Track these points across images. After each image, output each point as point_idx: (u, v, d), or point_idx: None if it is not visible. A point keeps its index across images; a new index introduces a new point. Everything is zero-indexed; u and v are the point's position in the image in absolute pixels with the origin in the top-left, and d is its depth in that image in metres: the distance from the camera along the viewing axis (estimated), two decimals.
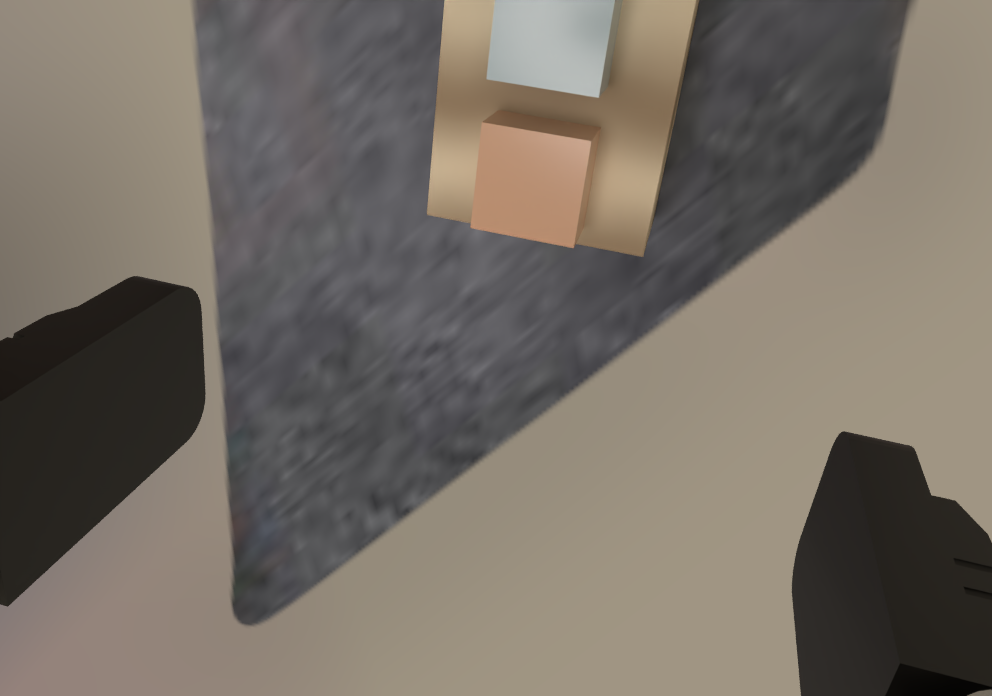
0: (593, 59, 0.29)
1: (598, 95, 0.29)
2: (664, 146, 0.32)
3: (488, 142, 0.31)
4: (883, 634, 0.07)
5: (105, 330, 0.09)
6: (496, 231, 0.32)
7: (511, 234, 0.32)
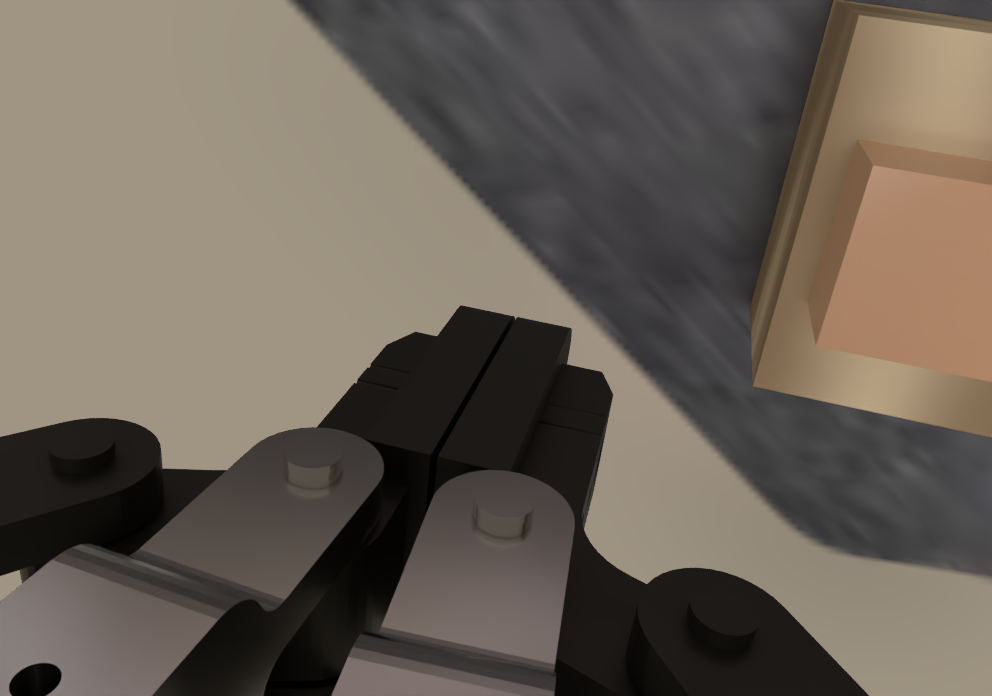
0: None
1: None
2: (933, 423, 0.21)
3: None
4: (449, 445, 0.08)
5: (477, 362, 0.10)
6: (860, 215, 0.17)
7: (851, 242, 0.18)
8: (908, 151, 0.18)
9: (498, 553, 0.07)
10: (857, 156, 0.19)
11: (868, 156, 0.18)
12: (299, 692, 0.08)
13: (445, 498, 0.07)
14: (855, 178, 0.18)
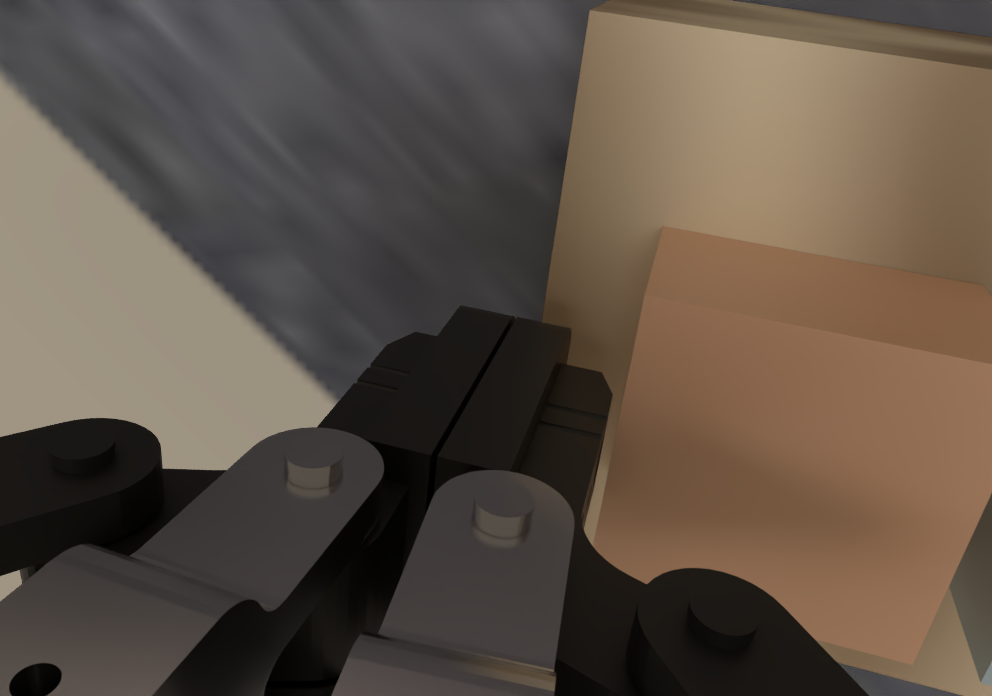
0: None
1: (986, 680, 0.10)
2: None
3: (962, 388, 0.09)
4: (449, 444, 0.08)
5: (477, 362, 0.10)
6: (633, 378, 0.10)
7: (623, 422, 0.10)
8: (740, 251, 0.11)
9: (498, 552, 0.07)
10: None
11: (653, 269, 0.10)
12: (299, 692, 0.08)
13: (444, 498, 0.07)
14: None
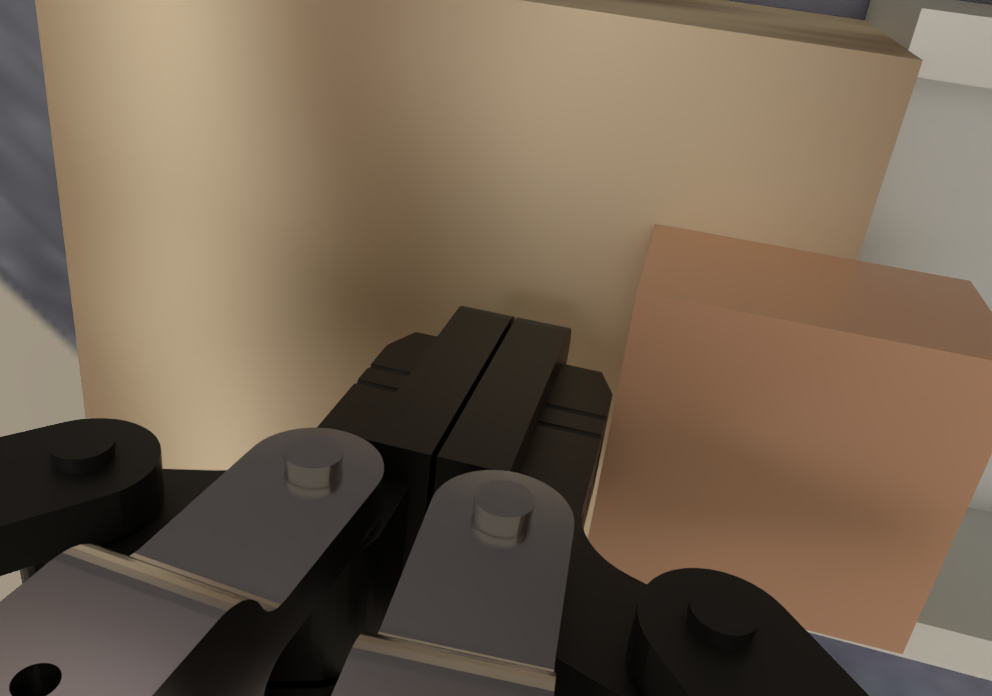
0: None
1: None
2: None
3: (948, 381, 0.09)
4: (450, 445, 0.08)
5: (478, 362, 0.10)
6: (626, 373, 0.10)
7: (617, 417, 0.10)
8: (731, 248, 0.11)
9: (498, 552, 0.07)
10: None
11: (645, 266, 0.10)
12: (299, 691, 0.08)
13: (444, 499, 0.07)
14: None
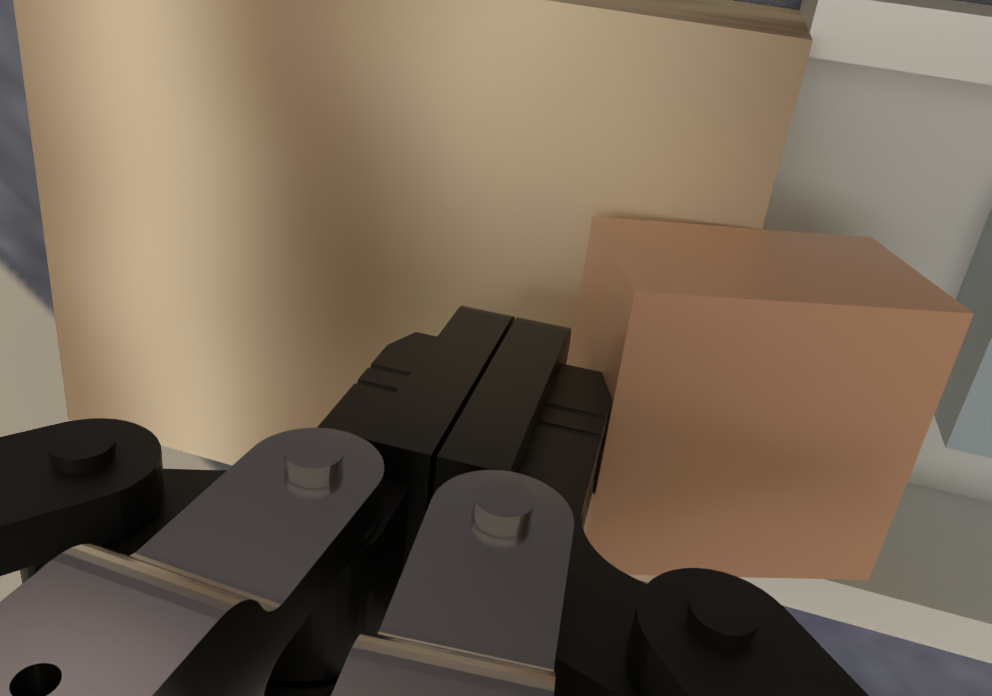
0: None
1: None
2: None
3: (909, 335, 0.10)
4: (450, 445, 0.08)
5: (478, 362, 0.10)
6: (623, 373, 0.10)
7: (615, 417, 0.10)
8: (673, 232, 0.11)
9: (498, 552, 0.07)
10: (597, 250, 0.11)
11: (620, 264, 0.10)
12: (299, 692, 0.08)
13: (444, 498, 0.07)
14: (601, 292, 0.11)
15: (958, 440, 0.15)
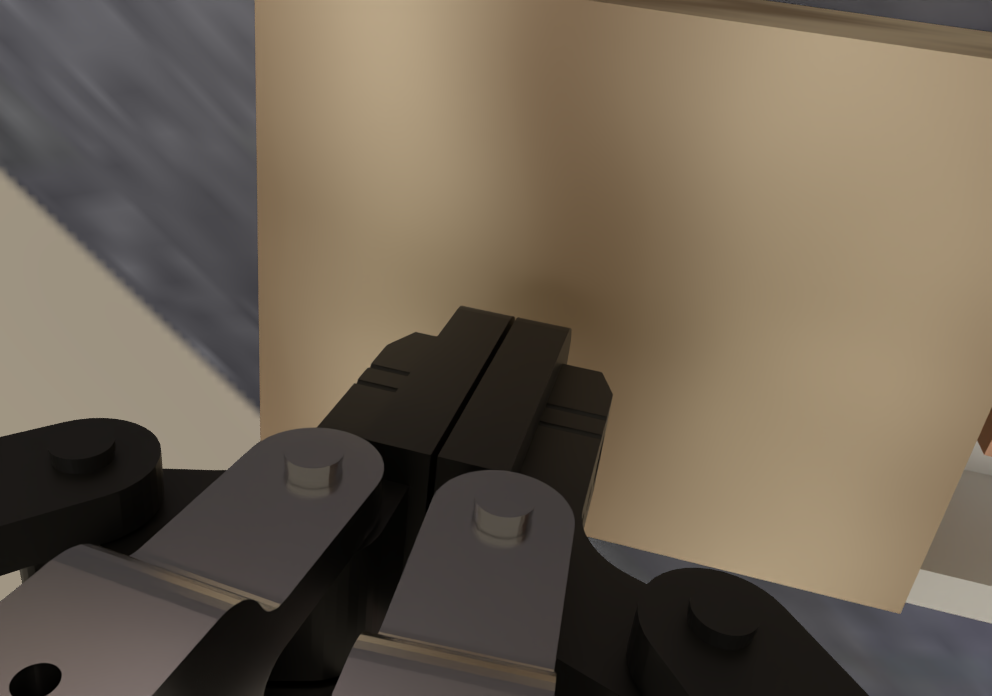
0: None
1: None
2: None
3: None
4: (450, 445, 0.08)
5: (477, 362, 0.10)
6: None
7: None
8: None
9: (498, 553, 0.07)
10: None
11: None
12: (299, 692, 0.08)
13: (445, 498, 0.07)
14: None
15: None
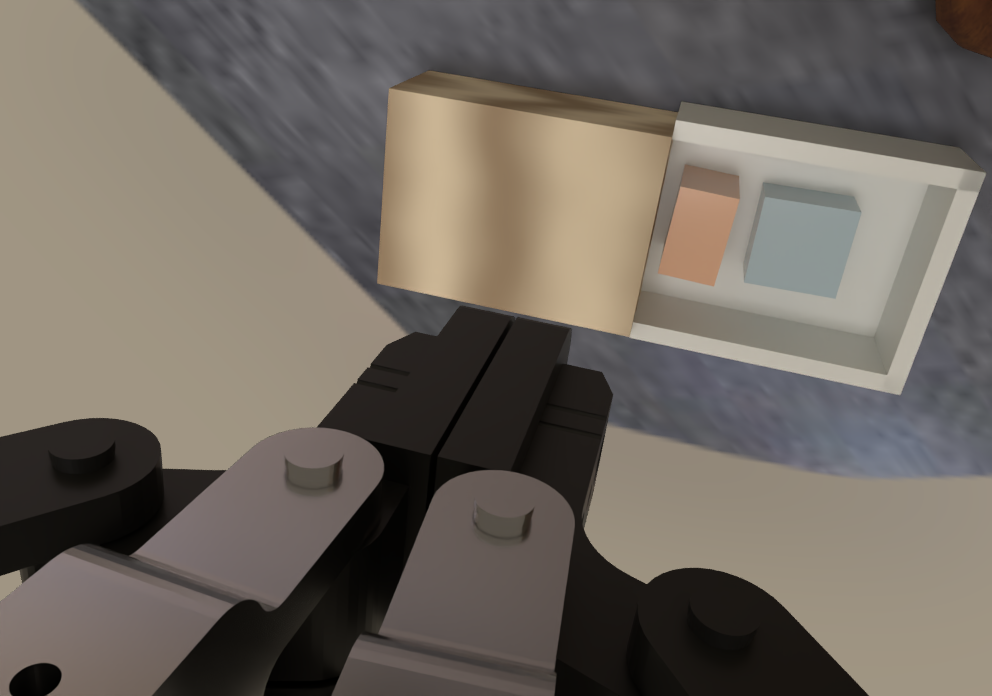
0: None
1: None
2: (467, 301, 0.40)
3: None
4: (450, 445, 0.08)
5: (477, 362, 0.10)
6: (732, 222, 0.36)
7: None
8: (691, 182, 0.37)
9: (499, 553, 0.07)
10: (693, 195, 0.36)
11: (720, 195, 0.36)
12: (299, 692, 0.08)
13: (445, 498, 0.07)
14: (704, 206, 0.36)
15: (748, 279, 0.39)
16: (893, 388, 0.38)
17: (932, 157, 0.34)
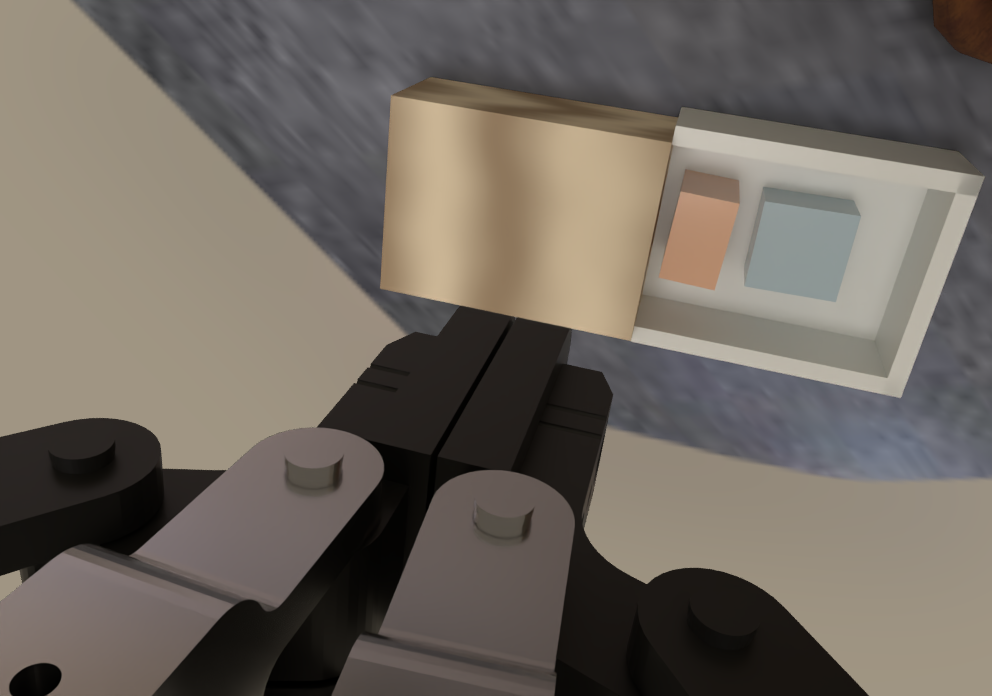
0: None
1: None
2: (469, 306, 0.40)
3: None
4: (450, 444, 0.08)
5: (477, 362, 0.10)
6: None
7: None
8: (691, 187, 0.37)
9: (499, 552, 0.07)
10: (693, 200, 0.36)
11: (720, 199, 0.36)
12: (299, 691, 0.08)
13: (445, 500, 0.07)
14: (704, 210, 0.36)
15: (748, 283, 0.39)
16: (893, 391, 0.38)
17: (931, 161, 0.35)
